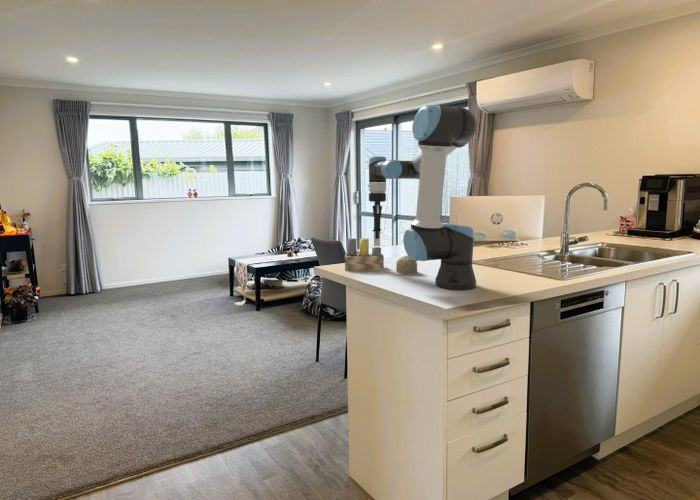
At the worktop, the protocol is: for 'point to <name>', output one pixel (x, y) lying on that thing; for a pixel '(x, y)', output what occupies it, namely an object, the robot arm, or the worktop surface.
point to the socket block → (364, 262)
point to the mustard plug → (364, 247)
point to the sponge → (406, 266)
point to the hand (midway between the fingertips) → (376, 245)
